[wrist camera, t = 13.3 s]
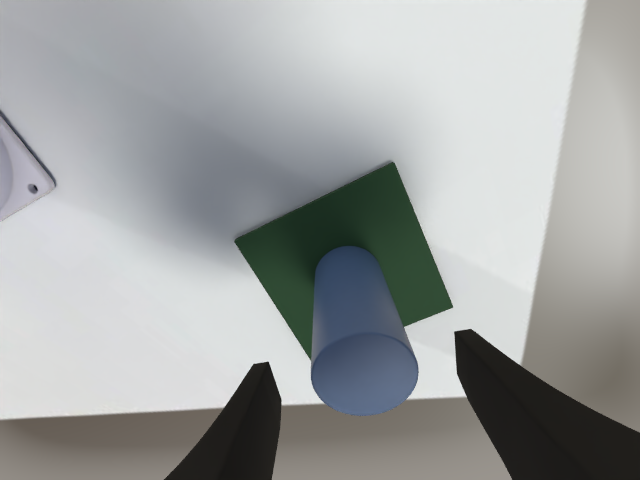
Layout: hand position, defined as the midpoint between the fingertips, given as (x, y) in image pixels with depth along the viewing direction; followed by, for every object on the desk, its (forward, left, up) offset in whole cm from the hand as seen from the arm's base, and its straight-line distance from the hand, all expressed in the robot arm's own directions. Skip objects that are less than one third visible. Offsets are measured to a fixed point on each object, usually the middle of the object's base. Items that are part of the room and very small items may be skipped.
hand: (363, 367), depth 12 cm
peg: (0, 0, -8) cm, 8 cm away
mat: (0, 0, -8) cm, 8 cm away
